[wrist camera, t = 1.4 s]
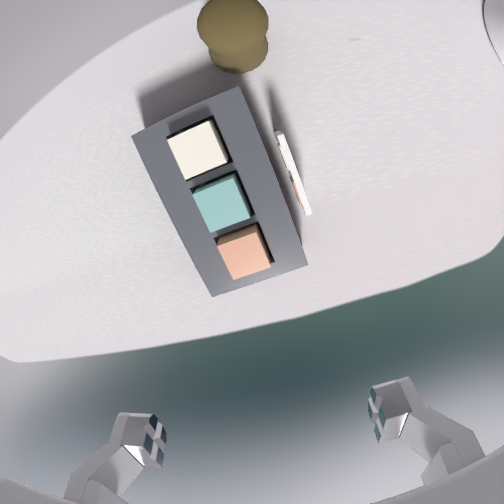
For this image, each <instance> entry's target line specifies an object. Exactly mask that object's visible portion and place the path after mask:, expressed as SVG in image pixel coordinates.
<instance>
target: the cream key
mask: <svg viewBox="0 0 504 504" xmlns="http://www.w3.org/2000/svg"><path fill="white" fill-rule="evenodd" d="M167 141H168V143H169V146H170V148H171V150H172V152H173V154H174V157H175V159H176V161H177V163H178V165H179V167H180V170H181V172H182V174H183V176H184V178H185V180H186V179H189V178H191V177H193V176H196V175H198V174H200V173H203V172H205V171H207V170H210V169H212V168H215V167H217V166H219V165H222V164H224V163H227V161H228V159H229V156H228V154H227V151H226V149H225V147H224V144H223V142H222V140H221V137H220V135H219V133H218V130H217V128H216V126H215V123H214V121H213V120H211V121H207V122H205V123H203V124H200V125H198V126H196V127H194V128H192V129H189V130H187V131H185V132H183V133H181V134H179V135H176V136H174V137H172V138H170V139H168V140H167Z"/></svg>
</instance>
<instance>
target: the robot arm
mask: <svg viewBox="0 0 504 504" xmlns="http://www.w3.org/2000/svg"><path fill="white" fill-rule="evenodd" d="M484 19H485V24H486V28H487V31H488V34H489V37H490V40H491V42H492V45H493V47H494V49H495V51H496V53H497V55H498V56H499V58H500V60H501V61H502V63H503V64H504V0H485V3H484ZM370 395H371V397H370V398H369V399H368V413H369V417H370V420H371V422H373V423H374V424H375V428H374V432H375V435H376V438H377V441H378V444H380V443H383V442H387V441H391V440H394V439H397V438H399V439H400V440H401V441H402V442H403V443H405V444H406V445H407V446H408V447H410V448H411V449H412V450H413V451H415V452H416V453H417V454H419V455H420V456H421V457H422V458H424V459H425V460H426V461H428V462H429V464H428V466H427V467H426V469H425V470H424V471H423V473H422V474H421V478H422V481H423V483H424V486H422V487H419V488H416V489H414V490H411V491H409V492H406V493H403V494H400V495H397V496H394V497H391V498H388V499H385V500H382V501H378V502H375V503H371V504H504V445H503V446H502V447H500V448H498V449H497V450H495V451H494V452H492V453H490V454H488V455H487V456H485V454H484V452H483V450H482V448H481V446H480V444H479V442H478V440H477V438H476V436H475V434H474V432H473V431H472V430H470V429H468V428H466V427H464V426H463V425H461V424H459V423H457V422H455V421H454V420H452V419H450V418H448V417H446V416H445V415H443V414H441V413H439V412H437V411H436V410H434V409H432V408H430V407H425V406H424V404H423V402H422V400H421V398H420V396H419V394H418V392H417V390H416V388H415V386H414V384H413V382H412V381H411V379H410V378H409V377H404V378H401V379H398V380H393V381H390V382H386V383H383V384H379V385H376V386H372V387H371V388H370ZM166 442H167V433H166V430H165V428H164V426H163V425H162V424H160V423H158V418H157V416H156V415H155V414H137V413H119V414H118V416H117V418H116V422H115V424H114V427H113V431H112V434H111V437H110V440H109V444H105V445H104V446H103V447H102V448H100V449H99V450H98V451H97V452H96V453H95V454H94V455H93V456H91V457H90V458H89V459H88V460H87V461H86V462H85V463H83V464H82V465H81V466H80V467H79V468H78V469H77V470H76V471H74V472H73V473H72V474H71V476H70V479H69V482H68V485H67V489H66V492H65V495H64V498H60V497H57V496H54V495H51V494H48V493H45V492H43V491H40V490H37V489H35V488H32V487H30V486H27V485H25V484H23V483H20V482H18V481H16V480H14V479H12V478H9V477H3V478H1V479H0V504H128V503H127V502H126V501H125V500H123V499H122V498H120V496H121V495H122V494H123V492H124V491H125V490H126V489H127V488H128V486H129V485H130V484H131V483H132V482H133V480H134V479H135V478H136V477H137V476H138V474H139V473H140V472H141V471H142V469H143V467H154V468H162V467H163V461H164V453H163V451H162V449H163V448H164V447H165V446H166Z"/></svg>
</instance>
